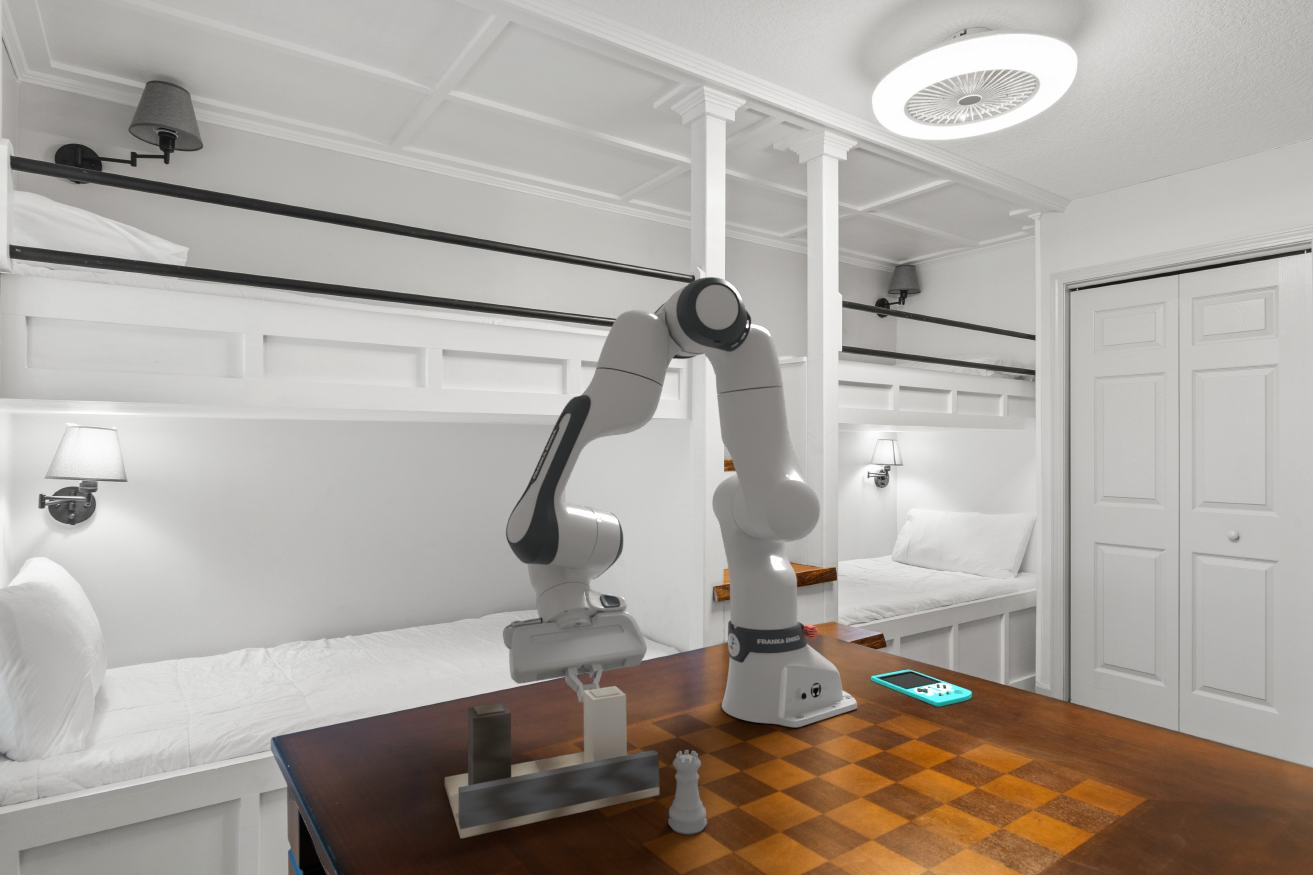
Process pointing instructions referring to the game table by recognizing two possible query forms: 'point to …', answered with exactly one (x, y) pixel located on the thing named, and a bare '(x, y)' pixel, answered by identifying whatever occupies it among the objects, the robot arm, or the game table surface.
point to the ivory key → (604, 724)
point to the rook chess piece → (687, 796)
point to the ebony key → (489, 743)
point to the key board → (550, 790)
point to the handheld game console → (923, 687)
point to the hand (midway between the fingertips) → (590, 698)
